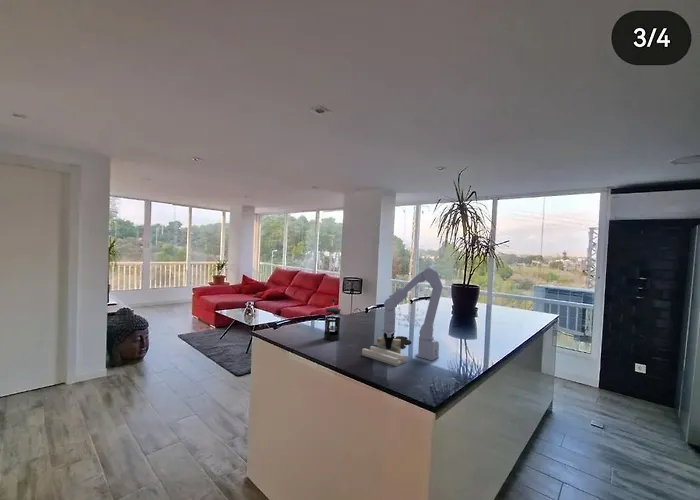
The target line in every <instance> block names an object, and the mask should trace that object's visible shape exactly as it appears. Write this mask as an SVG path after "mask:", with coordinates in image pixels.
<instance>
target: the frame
mask: <svg viewBox="0 0 700 500" xmlns="http://www.w3.org/2000/svg"><path fill="white" fill-rule="evenodd" d="M376 345H377V347H379V348H382V349H386V343H385V339H384V337H378V336H377V339H376ZM386 350H389V351H392V352H396V353H399V354H401V339H393V341H392V345H391V349H386Z"/></svg>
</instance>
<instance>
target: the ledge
mask: <svg viewBox="0 0 700 500" xmlns="http://www.w3.org/2000/svg"><path fill="white" fill-rule="evenodd" d="M361 349H362V350H361V356H363V357H367V358H369V359H373V360H375V361H379V362H381V363H382V362H383V363H385V364H388V365H391V366H393V367H394V366H395V367H397V366H400V365H402V364H404V363H406V362H407V355H405V354H402V353H396V352H392V351H389V350H386V349H382V348H379V347H375V346H373V345H371V346H370V347H369V349H368V348H361Z"/></svg>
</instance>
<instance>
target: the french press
mask: <svg viewBox="0 0 700 500" xmlns="http://www.w3.org/2000/svg"><path fill="white" fill-rule="evenodd" d="M329 300H330V301H332V307H329V308H325V309H324V310H325V313H326V314H327V313H332V315H331V316H330V315H329V316H325V317H324V333H323V340H324V341H327V342H337V341H340V339H341V338H340V336H341V334H340V328H341V326H340V325H341V317H339V316H336V315H340V314H341V311H342V310H341V309H340V308H337V307H334V304H335V301H337V300H338V299H337V298H329ZM334 315H335V316H334Z"/></svg>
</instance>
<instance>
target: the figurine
mask: <svg viewBox="0 0 700 500" xmlns="http://www.w3.org/2000/svg"><path fill="white" fill-rule="evenodd" d="M394 339H401V349H402V350H404V349H406V348H407V346H409V345H411V344H412V341H411V340H410V339H409V338H408V337H406V336H403V335H401V336H399V335H397V336H395V337H394ZM372 346H375V347H377V344H373V345H372ZM401 349H400V350H401Z"/></svg>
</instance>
